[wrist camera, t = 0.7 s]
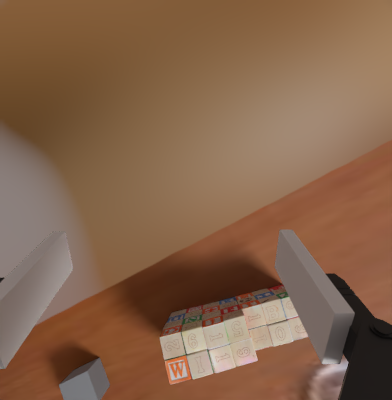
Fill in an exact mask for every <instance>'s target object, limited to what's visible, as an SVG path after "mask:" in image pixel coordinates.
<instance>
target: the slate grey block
mask: <svg viewBox="0 0 392 400" xmlns="http://www.w3.org/2000/svg"><path fill="white" fill-rule="evenodd" d="M109 386H110V384H109V381H108V378H107V376H106V373H105V370H104V368H103V365H102V362H101V360H100V357H99V358H97V359H95V360H93V361H91V362H89V363H87V364H85V365H83V366H81V367H79V368H77V369H75V370H73V371H72V372H71V373H70V374H69V375H68V376H67V377H66V378H65V379H64V380H63V381H62V382H61V383H60V384H59V387H60V390H61V393H62V396H63V398H64V400H101V398H102V397H103V395H104V394H105V392H106V391H107V389H108V388H109Z"/></svg>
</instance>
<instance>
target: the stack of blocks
mask: <svg viewBox="0 0 392 400" xmlns="http://www.w3.org/2000/svg"><path fill="white" fill-rule="evenodd" d="M306 337H309V336H308V334H307V332H306V330H305V328H304V326H303V324H302V322H301V320H300V318H299V316H298V314H297V312H296V310H295V308H294V306H293V304H292V302H291V299H290V297H289V295H288V293H287V291H286V289H285V287H284V285H279V286H275V287H272V288H268V289H262V290H258V291H254V292H251V293H246V294H242V295H239V296H236V297H232V298H229V299H225V300H221V301H217V302H213V303H210V304H206V305H200V306H196V307H192V308H188V309H184V310H180V311H176V312H172V313H171V314H170V316H169V319H168V321H167V323H166V324H165V326H164V328H163V331H162V333H161V335H160V342H161V347H162V352H163V356H164V360H165V365H166V370H167V374H168V378H169V383H170V385H171V384H175V383H179V382H182V381H186V380H190V379H196V378H200V377H203V376H207V375H210V374H213V373H214V372H215V373H219V372H222V371H225V370H229V369H232V368H235V367H236V366H241V365H245V364H248V363H252V362H255V361H258V359H257V356H256V352H255V351H257V350H261V349H264V348H268V347H272V346H278V345H282V344H286V343H289V342H293V341H294V340H298V339H302V338H306Z"/></svg>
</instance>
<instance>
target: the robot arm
mask: <svg viewBox="0 0 392 400" xmlns="http://www.w3.org/2000/svg"><path fill="white" fill-rule="evenodd" d="M275 269H276V271H277V273H278V275H279V277H280V279H281V281H282V283H283V285H284V287H285V289H286V291H287V293H288V295H289V297H290V299H291V302H292V304H293V306H294V308H295V310H296V312H297V314H298V316H299V318H300V320H301V322H302V324H303V326H304V328H305V330H306V332H307V334H308V336H309V339H310V341H311V343H312V345H313V347H314V349H315V351H316V353H317V355H318V357H319V359H320V361H321V363H322V364H340V362H341V359H342V356H343V354H344V356H345V357H346V359H347V361H348V362H349V364H348V367H347V370H346V373H345V376H344V380H343V384H342V388H341V391H340V395H339V398H338V400H392V325H391V324H389V323H387V322H385V321H383V320H380V319H377V318H375V317H374V316H373V315H372V314H371V312H370V311H369V310H368V309H367V308H366V306H365V305H364V304H363V303H362V302H361V300H360V299H359V298H358V297H357V296H356V295H355V293H354V292H353V291H352V289H350V287H349V286H348V285H347V283H346V282H345V281H344V280H343V279H341V278H340V277H338V276H337V275H336V274H325V273H324V271H323V270H322V269H321V267H320V266H319V265H318V263H317V262H316V261H315V259H314V258H313V257H312V255H311V254H310V253H309V252H308V250H307V249H306V248H305V246H304V245H303V244H302V242H301V241H300V240H299V238H298V237H297V236H296V234H295V233H294V232H293V230H280V232H279V239H278V246H277V254H276V261H275ZM72 270H73V265H72V261H71V256H70V251H69V247H68V242H67V237H66V232H52V233H51V234H50V235H49V236H48V237H47V238H46V239H45V240H44V241H42V243H40V244H39V245H38V247H36V248H35V249H34V250H33V251H32V252H31V253H30V254H29V255H28V256H27V257H26V258H25V259H24V260H23V261H22V262H21V263H20V264H19V265H18V266H17V267H16V268H15V269H14V270H13V271H12V272H11V273H10V274H9V275H8V276H7V277H6V278H0V369H5V368H6V366H7V365H8V364H9V362H10V361H11V359H12V358H13V356H14V355H15V353H16V352H17V350H18V349H19V348H20V346H21V345H22V343H23V342H24V340H25V339H26V337H27V336H28V334H29V333H30V331H31V330H32V329H33V327H34V326H35V324H36V323H37V321H38V320H39V318H40V317H41V315H42V314H43V313H44V311H45V310H46V308H47V307H48V305H49V304H50V302H51V301H52V299H53V298H54V296H55V295H56V293H57V292H58V290H59V289H60V288H61V286H62V285H63V283H64V282H65V280H66V279H67V278H68V276H69V275H70V273H71V272H72Z"/></svg>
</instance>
